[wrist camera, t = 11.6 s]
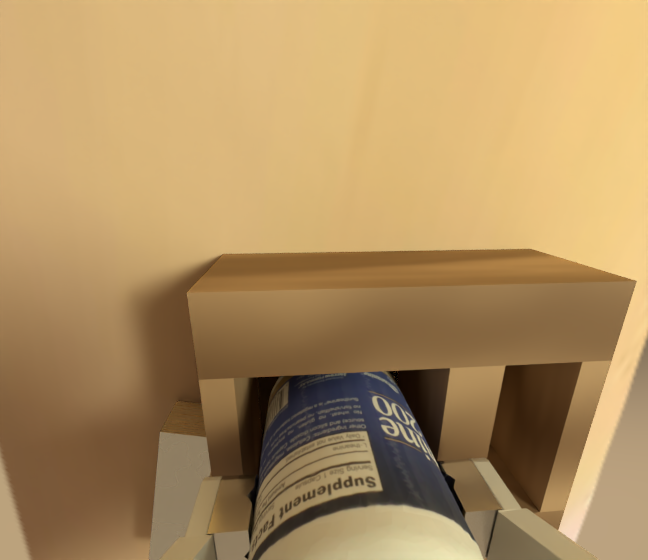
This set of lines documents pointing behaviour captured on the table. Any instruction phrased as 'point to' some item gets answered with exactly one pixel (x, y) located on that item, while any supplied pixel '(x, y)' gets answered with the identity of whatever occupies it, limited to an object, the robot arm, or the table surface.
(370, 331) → the wooden compartment tray
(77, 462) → the table surface
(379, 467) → the pill bottle
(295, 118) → the table surface
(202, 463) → the slim grey peg
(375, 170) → the table surface
